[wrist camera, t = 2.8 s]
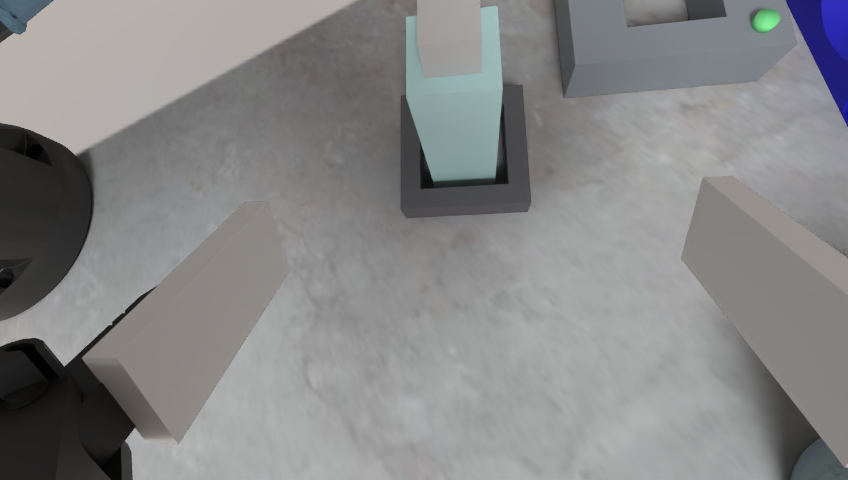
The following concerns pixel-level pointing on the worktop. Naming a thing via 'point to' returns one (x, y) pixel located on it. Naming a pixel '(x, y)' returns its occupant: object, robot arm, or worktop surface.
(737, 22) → the block
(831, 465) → the grey-green tumbler cup
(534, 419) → the worktop surface
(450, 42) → the capped teal pillar
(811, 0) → the cable clip
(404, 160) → the frame
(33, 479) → the robot arm
